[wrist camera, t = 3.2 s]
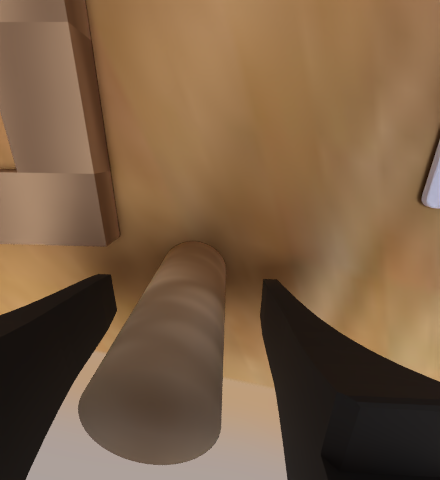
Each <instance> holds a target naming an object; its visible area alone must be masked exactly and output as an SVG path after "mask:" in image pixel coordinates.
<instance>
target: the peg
mask: <svg viewBox="0 0 440 480" xmlns="http://www.w3.org/2000/svg"><path fill="white" fill-rule="evenodd" d="M225 289H226V266H225V262H224V260H223V258H222V256H221V255H220V254H219V253H218V251H217V250H215V249H214V248H213V247H211V246H210V245H207V244H205V243H202V242H197V241H189V242H184V243H180V244H178V245H176V246H175V247H173V248H172V249H171V250H170V251H169V252H168V253H167V255H166V257H165V258H164V260H163V261H162V263H161V265H160V266H159V268H158V270H157V271H156V273H155V275H154V276H153V278H152V280H151V281H150V283H149V285H148V286H147V288H146V290H145V291H144V293H143V294H142V296H141V298H140V299H139V301H138V303H137V304H136V306H135V308H134V309H133V311H132V313H131V314H130V316H129V318H128V319H127V321H126V323H125V324H124V326H123V327H122V329H121V331H120V332H119V334H118V336H117V337H116V339H115V341H114V342H113V344H112V346H111V347H110V349H109V351H108V352H107V354H106V356H105V357H104V359H103V360H102V362H101V364H100V366H99V367H98V369H97V370H96V372H95V374H94V375H93V377H92V379H91V380H90V382H89V384H88V385H87V387H86V389H85V390H84V392H83V394H82V396H81V398H80V401H79V405H78V413H79V417H80V421H81V423H82V425H83V427H84V429H85V431H86V432H87V433H88V434H89V436H90V437H91V438H92V439H93V440H94V441H95V442H97V443H98V444H99V445H100V446H102V447H103V448H105V449H106V450H108V451H110V452H112V453H113V454H116V455H118V456H120V457H122V458H125V459H128V460H131V461H135V462H139V463H145V464H153V465H170V464H178V463H183V462H187V461H190V460H193V459H195V458H197V457H199V456H201V455H203V454H204V453H206V452H207V451H208V450H209V449H210V448H212V446H213V445H214V444H215V443H216V441H217V439H218V437H219V434H220V430H221V410H222V381H223V350H224V320H225Z"/></svg>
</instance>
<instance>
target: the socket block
mask: <svg viewBox="0 0 440 480" xmlns="http://www.w3.org/2000/svg"><path fill="white" fill-rule="evenodd" d="M0 113H1V116H2V120H3V123H4V127H5V130H6V134H7V137H8V141H9V144H10V148H11V151H12V155H13V159H14V162H15V166H16V169H0V244H27V245H64V246H102V247H107V246H108V245H109V244H110V243H112V242H113V241H114V240H116V239H117V238H118V237H119V236H120V233H119V226H118V220H117V213H116V206H115V199H114V192H113V186H112V179H111V172H110V165H109V158H108V152H107V145H106V138H105V131H104V124H103V118H102V111H101V104H100V97H99V90H98V84H97V77H96V70H95V63H94V57H93V50H92V43H91V36H90V29H89V23H88V16H87V9H86V2H85V0H0Z"/></svg>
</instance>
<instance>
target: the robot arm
mask: <svg viewBox="0 0 440 480" xmlns="http://www.w3.org/2000/svg"><path fill="white" fill-rule="evenodd" d="M422 203H423V204H424V205H425V206H428V207H431V208H440V140H439V144H438V147H437V150H436V153H435V156H434V159H433V163H432V166H431V169H430V172H429V175H428V178H427V182H426V185H425V188H424V191H423V194H422ZM116 312H117V308H116V302H115V296H114V290H113V284H112V279H111V275H108V274H97V275H94V276H92V277H89V278H87V279H84V280H82V281H80V282H78V283H76V284H73V285H71V286H69V287H67V288H65V289H63V290H60V291H58V292H56V293H54V294H52V295H49V296H47V297H45V298H42V299H40V300H38V301H35V302H33V303H31V304H29V305H26V306H24V307H21V308H19V309H16V310H13V311H11V312H8V313H5V314H2V315H0V480H26V477H27V475H28V472H29V470H30V468H31V466H32V464H33V462H34V459H35V457H36V455H37V453H38V451H39V449H40V447H41V445H42V442H43V440H44V438H45V436H46V434H47V432H48V430H49V428H50V426H51V424H52V422H53V420H54V418H55V416H56V414H57V412H58V410H59V408H60V406H61V405H62V403H63V401H64V399H65V397H66V395H67V393H68V391H69V390H70V388H71V386H72V384H73V382H74V381H75V379H76V378H77V376H78V374H79V373H80V371H81V370H82V368H83V367H84V365H85V364H86V362H87V361H88V359H89V358H90V356H91V355H92V353H93V352H94V350H95V349H96V347H97V346H98V344H99V343H100V341H101V340H102V338H103V337H104V335H105V333H106V332H107V330H108V328H109V326H110V324H111V322H112V320H113V318H114V316H115V314H116ZM260 319H261V328H262V336H263V340H264V344H265V348H266V353H267V357H268V361H269V365H270V369H271V373H272V377H273V381H274V386H275V391H276V397H277V404H278V411H279V417H280V425H281V432H282V439H283V447H284V455H285V463H286V471H287V479H288V480H440V382H439V381H436V380H434V379H432V378H429V377H427V376H424V375H422V374H420V373H417V372H415V371H413V370H410V369H408V368H405V367H403V366H401V365H399V364H397V363H395V362H393V361H391V360H389V359H387V358H384V357H382V356H380V355H378V354H376V353H375V352H373V351H371V350H369V349H367V348H365V347H363V346H362V345H360V344H358V343H357V342H355V341H353V340H351V339H350V338H348V337H346V336H345V335H343V334H341V333H340V332H338V331H337V330H335V329H334V328H333V327H331V326H330V325H328V324H327V323H325V322H324V321H323V320H321V319H320V318H319V317H317V316H316V315H315V314H314V313H312V312H311V311H310V310H309V309H307V308H306V307H305V306H304V305H303V304H302V303H301V302H299V301H298V300H297V299H296V298H295V297H294V296H293V295H292V294H291V293H290V292H289V291H288V290H287V289H286V288H285V287H284V286H283V285H282V284H281V283H280V282H279V281H278V280H272V279H263V289H262V301H261V312H260Z"/></svg>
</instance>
